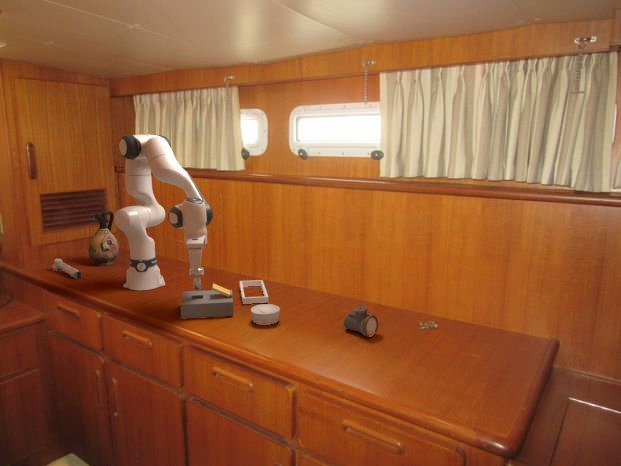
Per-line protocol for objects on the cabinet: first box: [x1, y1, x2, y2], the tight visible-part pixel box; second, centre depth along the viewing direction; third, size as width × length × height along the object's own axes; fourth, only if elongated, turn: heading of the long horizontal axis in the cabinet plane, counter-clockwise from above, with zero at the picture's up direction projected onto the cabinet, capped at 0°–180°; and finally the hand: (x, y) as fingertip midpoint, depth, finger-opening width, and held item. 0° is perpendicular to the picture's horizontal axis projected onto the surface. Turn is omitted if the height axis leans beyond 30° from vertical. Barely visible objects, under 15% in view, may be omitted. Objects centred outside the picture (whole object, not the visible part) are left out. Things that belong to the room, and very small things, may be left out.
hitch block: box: [180, 289, 234, 320], centre depth 181 cm, size 16×20×6 cm
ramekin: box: [250, 303, 281, 326], centre depth 171 cm, size 11×11×5 cm
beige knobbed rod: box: [52, 258, 83, 280], centre depth 228 cm, size 5×7×25 cm
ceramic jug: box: [88, 210, 120, 267], centre depth 246 cm, size 17×15×30 cm
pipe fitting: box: [343, 305, 379, 338], centre depth 162 cm, size 12×8×10 cm
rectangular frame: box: [239, 279, 269, 305], centre depth 201 cm, size 25×11×3 cm, turn 12°
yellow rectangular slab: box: [211, 283, 234, 298], centre depth 181 cm, size 6×9×1 cm
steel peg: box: [189, 266, 205, 291], centre depth 178 cm, size 6×6×8 cm
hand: (196, 272), depth 177 cm, fingers closed on steel peg, 6 cm apart
